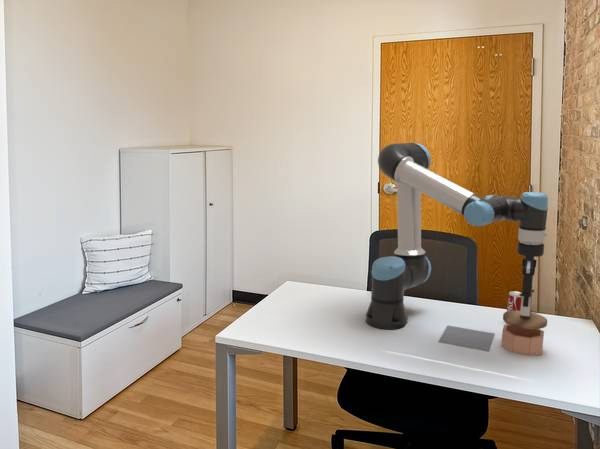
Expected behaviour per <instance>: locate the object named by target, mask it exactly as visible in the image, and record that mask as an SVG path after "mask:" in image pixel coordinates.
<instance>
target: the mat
mask: <svg viewBox="0 0 600 449" xmlns="http://www.w3.org/2000/svg"><path fill="white" fill-rule="evenodd" d="M495 334H496V333H495V332H494V333H493V332H489V331H482V330H477V329H471V328H466V327H465V328H464V327H458V326H452V325H447V326H446V327H445V329H444V331H443V332H442V334H441V336H440V337H439V339H438V341H437V343H441V344H446V345H451V346H456V347H463V348H466V349H473V350H478V351H484V352H487V353H488V352H490V351H491V347H492V343H493V340H494V337H495Z"/></svg>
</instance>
